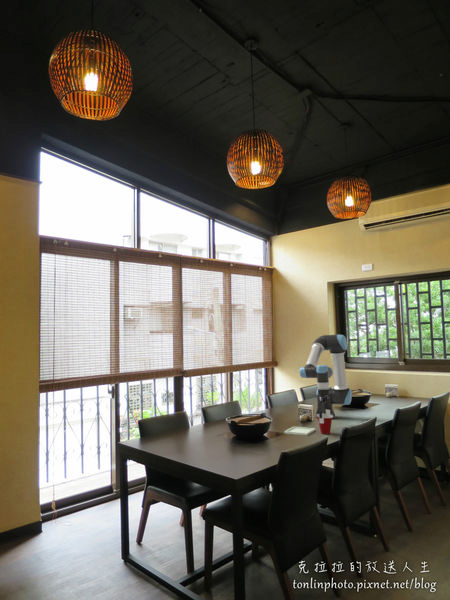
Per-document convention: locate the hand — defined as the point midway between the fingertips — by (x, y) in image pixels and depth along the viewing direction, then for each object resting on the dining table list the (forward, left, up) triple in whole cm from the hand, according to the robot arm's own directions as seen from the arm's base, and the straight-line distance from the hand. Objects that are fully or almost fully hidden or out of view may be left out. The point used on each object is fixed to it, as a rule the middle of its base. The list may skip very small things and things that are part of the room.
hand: (325, 421), depth 279 cm
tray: (+2, -17, -8) cm, 19 cm away
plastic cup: (0, 0, -8) cm, 8 cm away
